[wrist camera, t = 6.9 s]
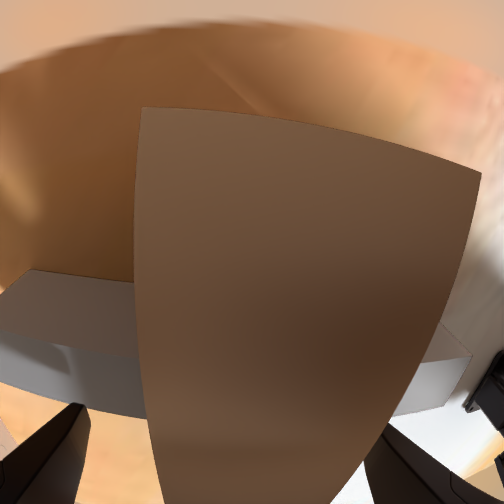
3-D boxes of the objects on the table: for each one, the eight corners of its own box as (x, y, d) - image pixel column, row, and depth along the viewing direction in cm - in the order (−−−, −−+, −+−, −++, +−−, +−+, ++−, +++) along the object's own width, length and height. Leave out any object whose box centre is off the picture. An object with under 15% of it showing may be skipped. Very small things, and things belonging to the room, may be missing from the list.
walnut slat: (241, 427, 17) (256, 576, 8) (192, 425, 17) (187, 575, 7) (287, 143, 12) (482, 173, 2) (210, 133, 11) (141, 107, 2)
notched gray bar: (419, 302, 15) (472, 355, 10) (401, 347, 16) (443, 406, 11) (30, 269, 12) (-28, 320, 8) (39, 320, 13) (-6, 379, 9)
